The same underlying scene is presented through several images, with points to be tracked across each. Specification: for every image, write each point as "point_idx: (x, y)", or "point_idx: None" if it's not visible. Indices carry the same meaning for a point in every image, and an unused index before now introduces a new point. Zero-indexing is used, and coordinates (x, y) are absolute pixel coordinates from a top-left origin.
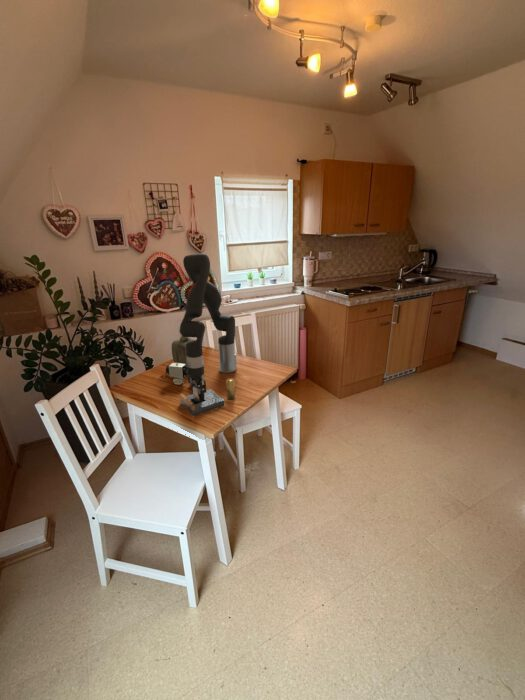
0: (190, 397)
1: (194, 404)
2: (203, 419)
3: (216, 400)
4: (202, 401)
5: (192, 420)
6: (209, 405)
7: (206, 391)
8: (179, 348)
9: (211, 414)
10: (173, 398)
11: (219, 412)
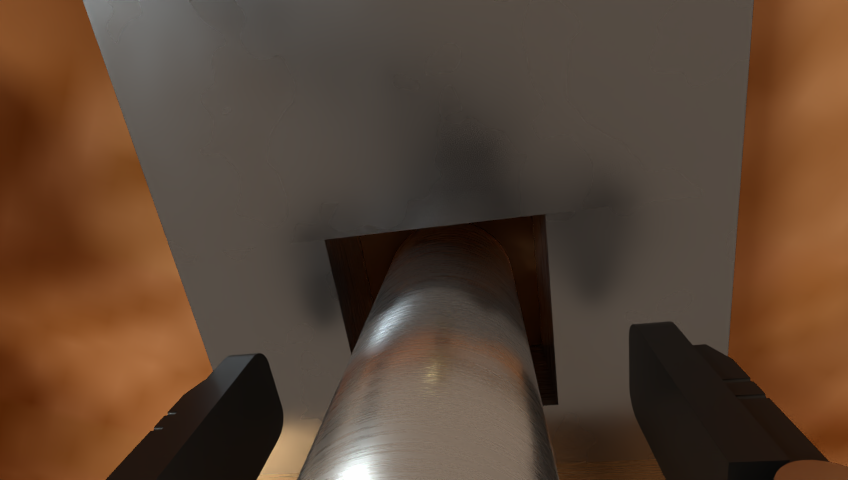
0: (299, 392)
1: (553, 413)
2: (839, 336)
3: (656, 2)
4: (478, 253)
5: None
6: (731, 207)
7: (166, 76)
8: None
9: (800, 197)
10: None
11: (842, 53)
